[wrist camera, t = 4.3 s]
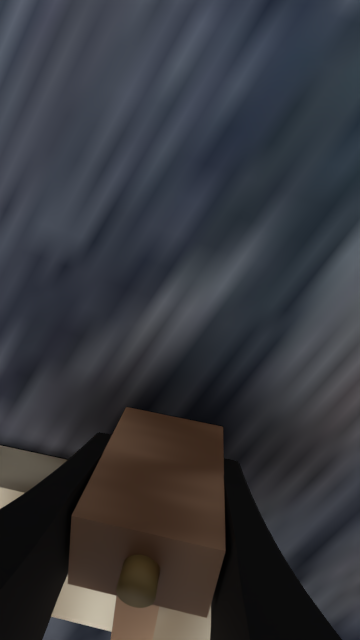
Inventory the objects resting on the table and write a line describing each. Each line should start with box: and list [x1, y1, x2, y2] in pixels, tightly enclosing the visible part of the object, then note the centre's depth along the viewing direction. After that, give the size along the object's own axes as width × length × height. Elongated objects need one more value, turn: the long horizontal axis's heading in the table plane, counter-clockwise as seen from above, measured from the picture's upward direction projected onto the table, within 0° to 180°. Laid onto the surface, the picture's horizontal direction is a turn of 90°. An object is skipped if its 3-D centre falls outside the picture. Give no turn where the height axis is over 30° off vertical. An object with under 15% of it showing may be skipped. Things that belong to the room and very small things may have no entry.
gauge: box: [68, 407, 226, 640], centre depth 11 cm, size 4×8×6 cm, turn 171°
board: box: [0, 445, 211, 640], centre depth 14 cm, size 15×7×2 cm, turn 82°
